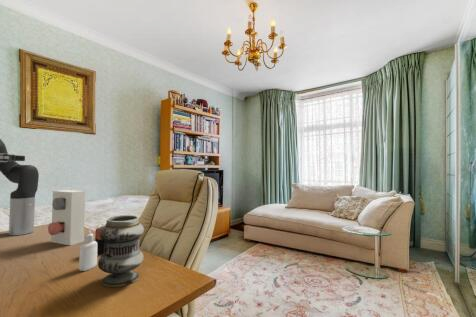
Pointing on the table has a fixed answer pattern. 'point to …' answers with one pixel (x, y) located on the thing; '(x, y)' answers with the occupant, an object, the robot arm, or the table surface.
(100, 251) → the battery
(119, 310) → the table surface
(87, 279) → the table surface
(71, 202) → the box
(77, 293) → the table surface
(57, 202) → the upper grey button
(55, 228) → the lower red button
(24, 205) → the robot arm
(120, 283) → the apothecary jar
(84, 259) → the eye dropper bottle
